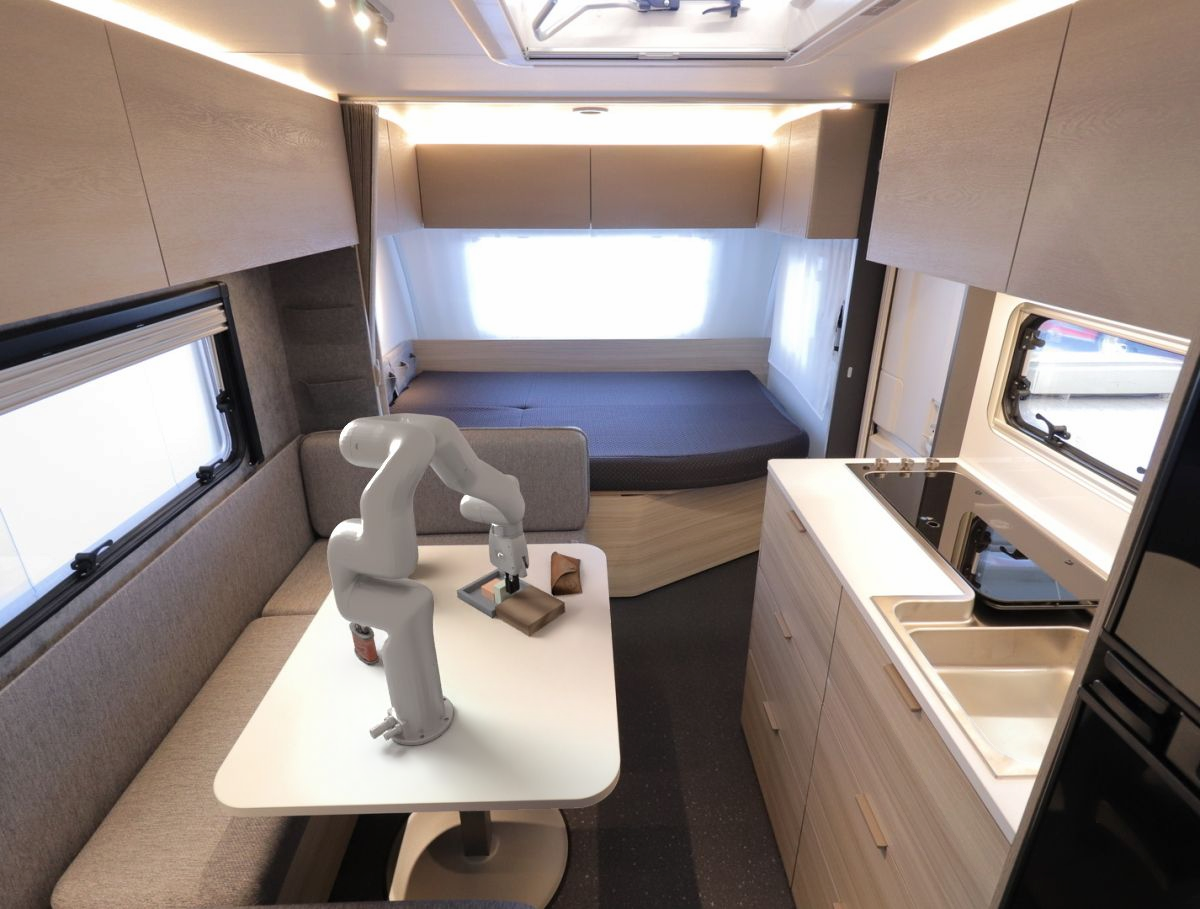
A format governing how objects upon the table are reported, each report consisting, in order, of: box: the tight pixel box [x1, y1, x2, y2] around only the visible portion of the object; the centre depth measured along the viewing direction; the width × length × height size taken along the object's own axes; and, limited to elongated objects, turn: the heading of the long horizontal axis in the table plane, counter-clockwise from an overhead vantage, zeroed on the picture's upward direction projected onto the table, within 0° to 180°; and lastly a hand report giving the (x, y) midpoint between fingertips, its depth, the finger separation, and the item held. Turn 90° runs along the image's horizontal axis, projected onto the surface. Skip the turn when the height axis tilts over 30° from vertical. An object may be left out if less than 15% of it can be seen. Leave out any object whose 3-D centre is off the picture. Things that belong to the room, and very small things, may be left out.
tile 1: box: [481, 578, 500, 602], centre depth 159 cm, size 5×5×2 cm
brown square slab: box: [495, 584, 566, 637], centre depth 151 cm, size 12×12×3 cm
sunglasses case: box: [550, 551, 583, 597], centre depth 167 cm, size 18×7×7 cm
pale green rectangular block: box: [493, 579, 516, 604], centre depth 156 cm, size 5×5×2 cm
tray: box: [456, 567, 534, 619], centre depth 159 cm, size 14×14×2 cm
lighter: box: [348, 622, 380, 667], centre depth 137 cm, size 8×3×10 cm, turn 47°
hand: (513, 590), depth 154 cm, fingers closed
